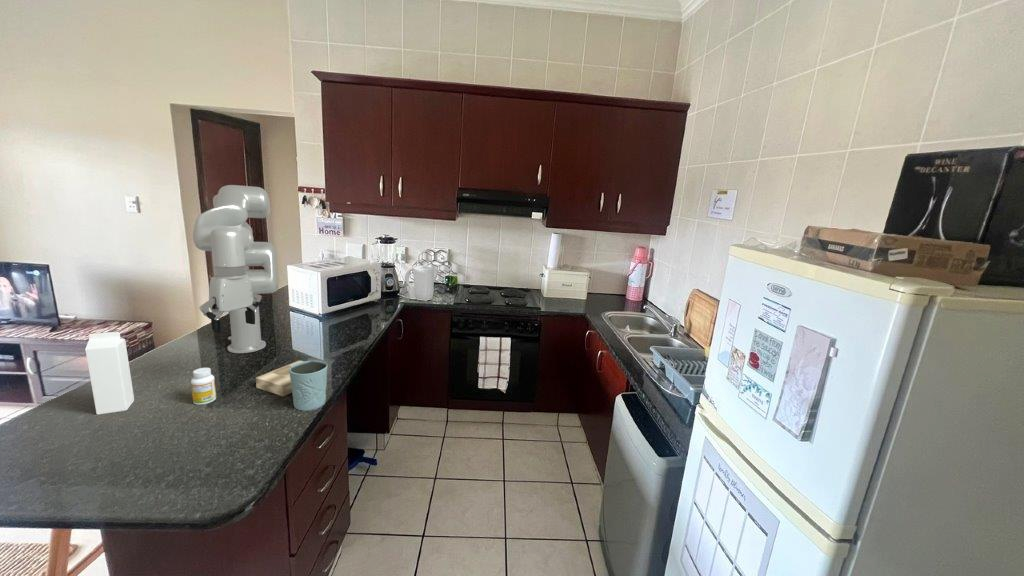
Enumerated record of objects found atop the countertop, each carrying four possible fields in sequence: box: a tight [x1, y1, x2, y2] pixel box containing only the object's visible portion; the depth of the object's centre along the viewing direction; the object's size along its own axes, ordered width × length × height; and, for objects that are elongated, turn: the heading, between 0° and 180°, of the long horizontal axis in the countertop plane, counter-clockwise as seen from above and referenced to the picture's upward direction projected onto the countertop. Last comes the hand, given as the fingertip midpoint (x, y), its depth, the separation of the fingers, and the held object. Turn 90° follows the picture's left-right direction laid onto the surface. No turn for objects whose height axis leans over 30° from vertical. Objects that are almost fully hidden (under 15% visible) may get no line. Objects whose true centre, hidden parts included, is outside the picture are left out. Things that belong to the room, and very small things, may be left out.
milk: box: [84, 331, 135, 415], centre depth 103 cm, size 6×6×22 cm
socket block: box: [255, 359, 305, 397], centre depth 126 cm, size 12×16×4 cm
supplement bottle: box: [190, 367, 217, 406], centre depth 111 cm, size 5×5×10 cm
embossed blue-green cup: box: [289, 359, 329, 412], centre depth 114 cm, size 10×10×12 cm
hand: (234, 327), depth 113 cm, fingers open, 9 cm apart
